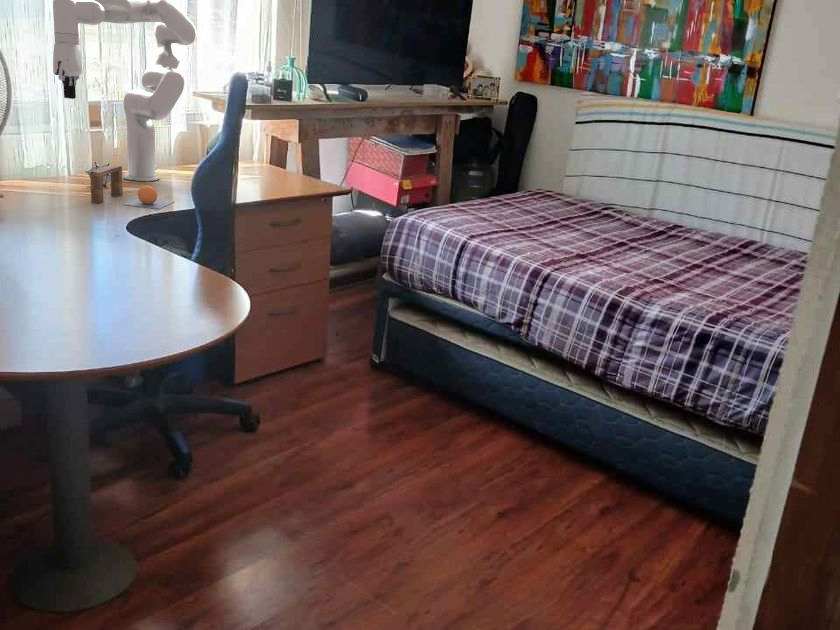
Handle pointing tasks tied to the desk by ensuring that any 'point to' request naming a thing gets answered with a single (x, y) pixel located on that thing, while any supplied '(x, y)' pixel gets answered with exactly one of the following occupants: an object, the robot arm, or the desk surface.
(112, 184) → the bridge
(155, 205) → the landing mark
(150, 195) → the ball
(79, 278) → the desk surface
